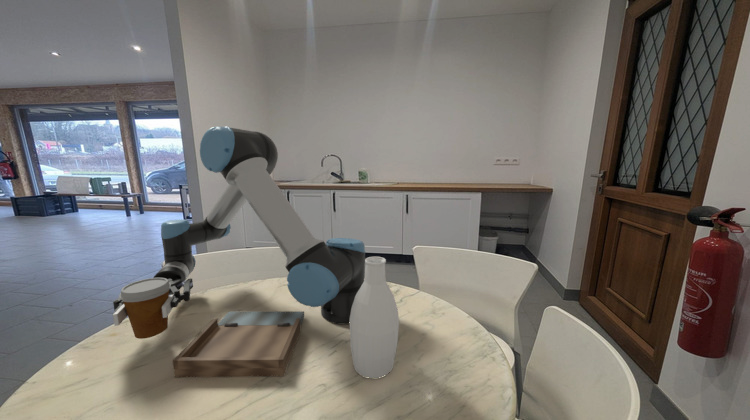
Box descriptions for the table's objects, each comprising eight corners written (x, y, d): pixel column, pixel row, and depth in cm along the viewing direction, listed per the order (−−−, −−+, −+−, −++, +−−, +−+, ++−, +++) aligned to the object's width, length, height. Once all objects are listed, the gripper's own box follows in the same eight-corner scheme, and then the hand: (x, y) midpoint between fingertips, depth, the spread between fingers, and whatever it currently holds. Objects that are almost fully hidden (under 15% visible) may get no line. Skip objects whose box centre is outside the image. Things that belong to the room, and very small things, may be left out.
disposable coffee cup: (148, 346, 62) (141, 295, 60) (114, 340, 64) (106, 291, 62) (185, 322, 71) (180, 278, 69) (154, 318, 73) (149, 275, 71)
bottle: (407, 370, 62) (412, 262, 58) (365, 392, 56) (367, 273, 52) (379, 343, 71) (381, 248, 67) (340, 360, 65) (340, 256, 61)
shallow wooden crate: (306, 317, 82) (305, 305, 82) (283, 376, 60) (283, 359, 59) (227, 317, 82) (226, 305, 81) (174, 377, 59) (172, 360, 58)
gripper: (211, 284, 87) (196, 321, 67) (128, 295, 80) (82, 342, 59) (209, 261, 86) (193, 292, 65) (125, 271, 78) (76, 309, 58)
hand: (140, 315), depth 62 cm, fingers closed on disposable coffee cup, 8 cm apart
